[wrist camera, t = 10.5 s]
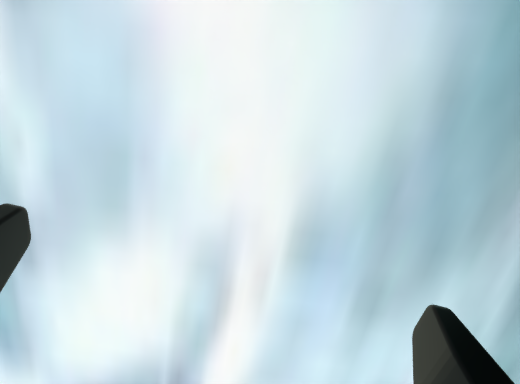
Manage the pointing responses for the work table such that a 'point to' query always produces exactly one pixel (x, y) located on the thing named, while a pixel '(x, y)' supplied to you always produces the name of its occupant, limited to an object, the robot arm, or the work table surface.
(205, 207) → the work table surface
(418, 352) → the robot arm
